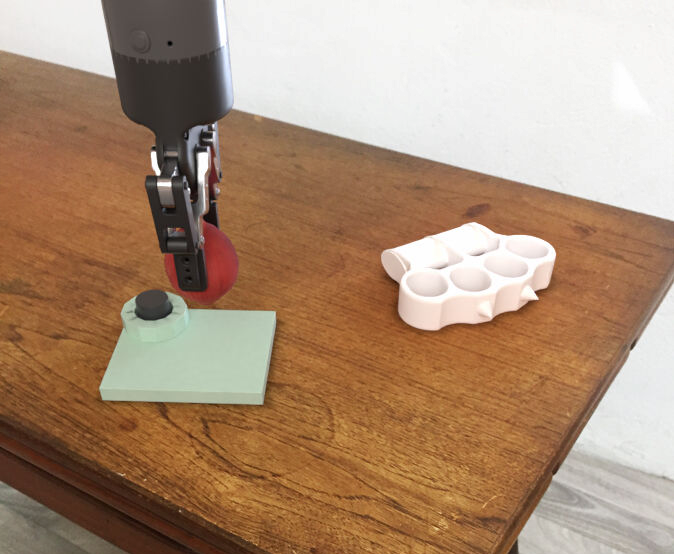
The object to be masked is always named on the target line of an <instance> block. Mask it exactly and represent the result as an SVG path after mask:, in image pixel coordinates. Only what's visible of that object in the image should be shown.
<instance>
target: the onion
mask: <svg viewBox="0 0 674 554" xmlns="http://www.w3.org/2000/svg"><path fill="white" fill-rule="evenodd" d="M177 231H181V232H185V231H184V230H183V229H182V228H178V230H177ZM203 237H204V239H205V243H204V244H203V245H204V252H205V259H206V267H207V274H208V281H209V283H208V287H207V289H206V291H204V292H186V291H182V290H181V289H180V288H179V287H178V281H177V276H176V270H175V264H174V258H173V254H164V260H163V265H164V271H165V274H166V276H167V279H168V281H169V283H170V286H171V287H172V288H173V289H174V290H175V291H176V292H177V294H178V295H181V297H183V298H186V299H188V300H189V301H193V302H195V303H197V304H199V305H201V306H203V307H210V306H212V305H214V304H216V303H217V302H218V301H219V300H220V299H221V298H222V297H223V296H225V295H226V294H227V293H228V292H229V291H231V290H232V289H233V287H234V286H235V284H236V283H237V279H238V275H239V268H240V260H239V256H238V253H237V251H236V247H235V246H234V244H233V242H232V241H231V239H230V237H228V235H227V234H226V233H225V232H224V231H222V230H221V229H220V230H219V229H218V228H217V227H215V226H214V225H212V224H210V223H207V222H205V221H204V220H203Z"/></svg>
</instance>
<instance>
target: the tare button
mask: <svg viewBox="0 0 674 554" xmlns="http://www.w3.org/2000/svg"><path fill="white" fill-rule="evenodd" d="M165 292H166V291H164V290H162V289H147V290H144V291H142V292H140V293H138V294H137V295H136V296H137V297H136V299H135V303H136V307H137V312H138V316H139V317H140V318H141V319H142V320H145V321H156V320H159V319H163V318H166V317H167V316H168V315H169V314H170V312H171V309H170V304H169V298H168V295H167V293H165Z"/></svg>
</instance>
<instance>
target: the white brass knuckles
mask: <svg viewBox="0 0 674 554" xmlns="http://www.w3.org/2000/svg"><path fill="white" fill-rule="evenodd" d="M556 257H557V254H556V250H555V248H554V247H553V245H551V244H550V243H549V242H548V241H545V240H543V239H541V238H539V237H536V236H532V235H526V234H513V235H503V234H499V233H496V232H494V231H492V230H491V229H489V228H488V227H486V226H484V225H483V224H479V223H477V222H474V221H473V222H468V223H464V224H461V226H459V227H455V228H452V229H449V230H446V231H443V232H440V233H437V234H433V235H427V236H424V237H423V238H422V239H418V240H415V241H412V242H410V243H406V244H403V245H400V246H396V247H394V248H388V249H385V250H383V251H382V252H381V255H380V261H381V264H382V266H383V268H384V270H385V272H386V273H387V274H388V276H389V277H390V278H391V279H392V280H394V281H396V282H397V283H398V284H399V287H398V288H399V289H398V302H397V303H398V304H397V312H398V316H399V317H400V318H401V320H402V321H403V322H404V323H406V324H407V325H409V326H411V327H412V328H415V329H417V330H423V331H434V332H435V331H440V330H441V329H443V328H445V327H447V326H450V325H455V324H468V325H476V324H481V323H488V322H491V321H492V320H493V319H494V318H495V317H496V316H498V315H501V314H503V313H507V312H517V311H518V310H520V309H521V308H522V307H524V306H525V305H526V304H528V302H529V301H539V300H540V299H539V297H538V296H537V294H536V293H535V292H537V291H540V290H544V289H547V288H548V287H549V285H550V283H551V279H552V274H553V271H554V266H555V262H556Z"/></svg>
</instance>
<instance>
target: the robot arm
mask: <svg viewBox="0 0 674 554" xmlns="http://www.w3.org/2000/svg"><path fill="white" fill-rule="evenodd" d="M100 4H101V7H102V8H101V9H102V14H103V15H102V16H103V20H104V25H105V31H106V35H107V40H108V45H109V50H110V56H111V60H112V65H113V70H114V75H115V81H116V86H117V91H118V96H119V101H120V105H121V107H120V108H121V110H122V112H123V114H124V116H125V117H126V118H128V119H129V120H130V121H131V122H133V123H135V124H137V125H139V126H140V125H141V126H143V127H145V128H147V129H148V130H150V131H151V132H152V133H153V134H154V136H155V139H154V143H155V144H152V145H151V146H150V161H151V162H150V163H151V169H152V170H153V172H154V173H155V174H147V175H146V176H145V180H144V188H145V191H146V195H147V199H148V203H149V208H150V211H151V215H152V220H153V224H154V228H155V232H156V238H157V241H158V247H159V249H160V253H161V254H164V255H165V254H173V258H174V264H175V270H176V276H177V281H178V287H179V288H180V289H181V290H182V291H186V292H204V291H206V289H207V287H208V283H209V281H208V274H207V267H206V259H205V252H204V245H203V244H204V243H205V239H204V237H203V220H204V221H205V222H207V223H210V224H212V225H214V226H215V227H217V228H218V229H219V230H221V225H220V217H219V208H218V201H219V198H220V196H221V190H220V188H219V185H218V184H220V183H222V179H223V171H222V165H221V154H220V152H221V151H220V142H219V127H218V121H220V120H222V119H224V118H225V117H226V116H228V115H229V114H230V113H231V111H232V108H233V107H234V103H235V98H234V97H235V96H234V87H233V86H234V85H233V77H232V76H233V75H232V64H231V54H230V41H229V31H228V30H229V29H228V19H227V10H226V0H100ZM180 228H182V229H183V230H184V231H185V232H181V231H178V230H177V229H180Z"/></svg>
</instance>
